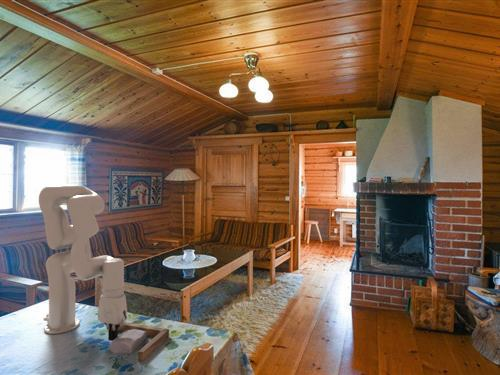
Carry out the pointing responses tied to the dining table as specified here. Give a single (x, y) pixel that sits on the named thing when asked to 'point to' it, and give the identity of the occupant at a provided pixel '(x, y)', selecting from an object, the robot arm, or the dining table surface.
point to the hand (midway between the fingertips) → (113, 338)
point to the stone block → (128, 341)
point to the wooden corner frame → (155, 332)
